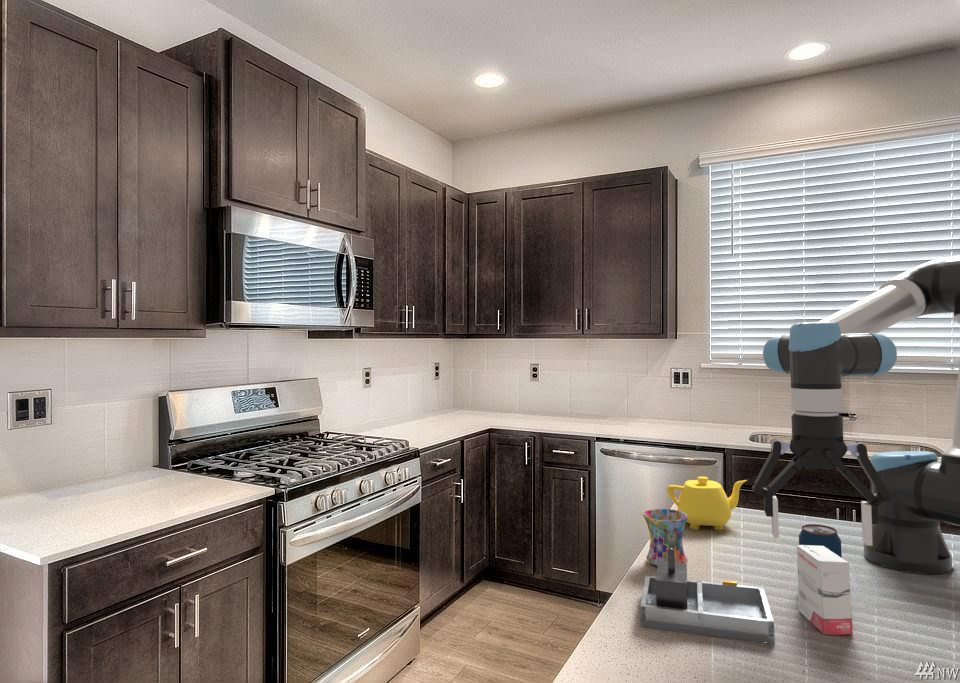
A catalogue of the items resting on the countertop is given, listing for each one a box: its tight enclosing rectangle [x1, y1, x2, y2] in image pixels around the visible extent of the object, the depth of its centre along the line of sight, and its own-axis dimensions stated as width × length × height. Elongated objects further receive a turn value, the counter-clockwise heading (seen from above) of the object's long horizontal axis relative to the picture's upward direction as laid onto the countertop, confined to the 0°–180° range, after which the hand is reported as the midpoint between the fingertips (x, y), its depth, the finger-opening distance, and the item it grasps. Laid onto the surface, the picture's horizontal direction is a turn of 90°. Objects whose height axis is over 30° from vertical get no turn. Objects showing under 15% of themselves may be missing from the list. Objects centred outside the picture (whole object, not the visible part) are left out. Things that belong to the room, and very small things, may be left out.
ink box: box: [796, 544, 854, 636], centre depth 97 cm, size 9×5×12 cm, turn 175°
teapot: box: [666, 476, 748, 531], centre depth 151 cm, size 13×20×12 cm
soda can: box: [798, 523, 843, 559], centre depth 109 cm, size 7×7×12 cm
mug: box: [642, 508, 688, 567], centre depth 127 cm, size 12×9×11 cm
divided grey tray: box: [640, 548, 776, 645], centre depth 101 cm, size 20×14×11 cm
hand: (820, 539), depth 97 cm, fingers open, 13 cm apart
